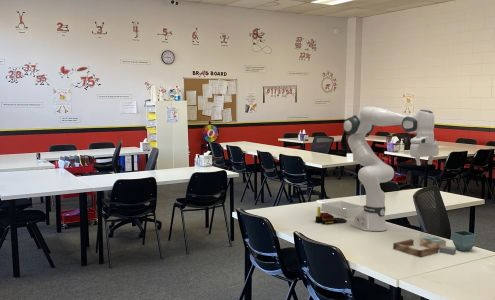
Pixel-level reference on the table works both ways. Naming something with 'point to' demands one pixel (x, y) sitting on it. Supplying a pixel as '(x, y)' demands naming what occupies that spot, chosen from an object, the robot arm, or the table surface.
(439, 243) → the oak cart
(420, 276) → the table surface
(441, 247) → the block
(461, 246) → the flower pot
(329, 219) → the fire station toy set
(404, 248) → the bay
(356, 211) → the toy storage tray
